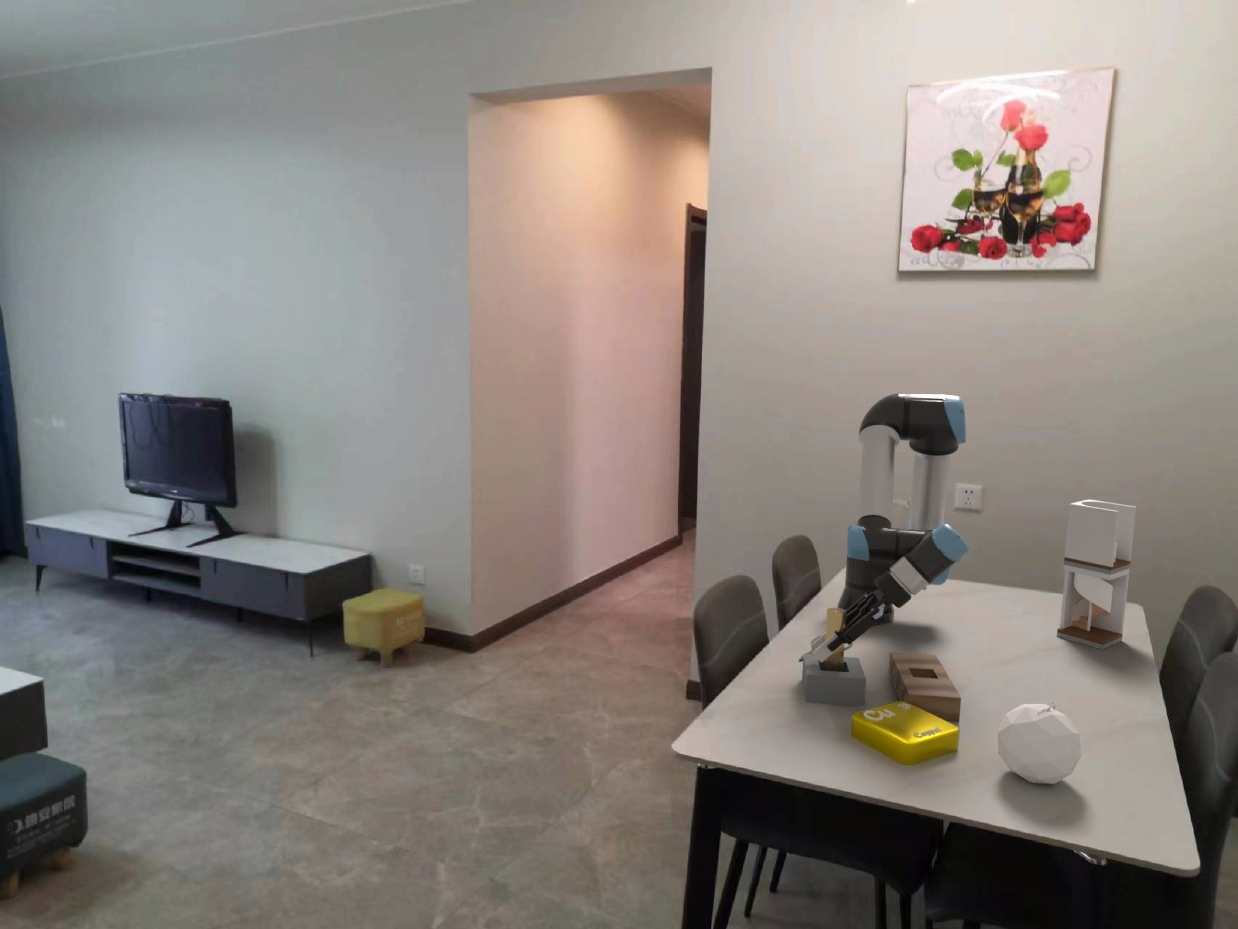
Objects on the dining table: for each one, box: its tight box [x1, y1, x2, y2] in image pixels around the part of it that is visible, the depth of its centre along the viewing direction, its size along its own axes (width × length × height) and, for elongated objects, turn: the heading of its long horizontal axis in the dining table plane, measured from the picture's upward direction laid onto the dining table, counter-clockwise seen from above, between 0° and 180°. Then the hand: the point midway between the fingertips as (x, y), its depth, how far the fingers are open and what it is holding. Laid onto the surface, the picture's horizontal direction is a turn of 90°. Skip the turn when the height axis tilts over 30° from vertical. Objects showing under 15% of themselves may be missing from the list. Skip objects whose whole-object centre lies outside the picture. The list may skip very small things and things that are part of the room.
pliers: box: [798, 635, 854, 663], centre depth 213 cm, size 10×1×20 cm
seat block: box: [801, 653, 867, 707], centre depth 188 cm, size 12×12×6 cm
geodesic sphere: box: [997, 702, 1082, 785], centre depth 153 cm, size 14×14×14 cm
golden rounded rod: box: [824, 607, 846, 672], centre depth 187 cm, size 4×4×16 cm
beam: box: [888, 651, 962, 722], centre depth 187 cm, size 24×10×5 cm, turn 172°
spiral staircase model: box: [1056, 499, 1137, 650], centre depth 222 cm, size 11×11×35 cm
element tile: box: [850, 700, 960, 766], centre depth 166 cm, size 15×15×5 cm
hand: (816, 653), depth 188 cm, fingers closed on golden rounded rod, 4 cm apart
